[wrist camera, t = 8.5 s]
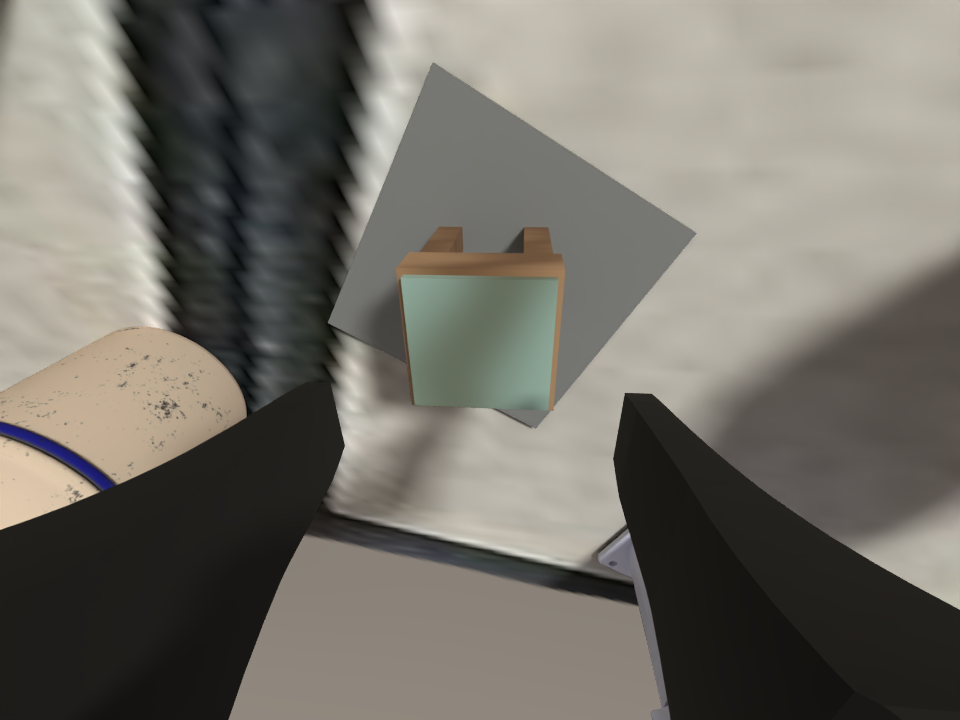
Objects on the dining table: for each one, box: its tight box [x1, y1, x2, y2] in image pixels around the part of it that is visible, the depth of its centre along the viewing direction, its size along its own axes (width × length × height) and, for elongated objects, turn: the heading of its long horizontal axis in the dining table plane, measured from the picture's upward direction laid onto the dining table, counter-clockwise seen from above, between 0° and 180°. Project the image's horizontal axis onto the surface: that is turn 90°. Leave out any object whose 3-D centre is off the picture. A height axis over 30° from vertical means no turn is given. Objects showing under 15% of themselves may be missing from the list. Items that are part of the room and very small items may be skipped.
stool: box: [396, 227, 565, 411], centre depth 16 cm, size 5×5×6 cm
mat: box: [328, 63, 696, 428], centre depth 19 cm, size 12×12×1 cm
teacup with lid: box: [0, 327, 247, 530], centre depth 20 cm, size 12×9×12 cm
